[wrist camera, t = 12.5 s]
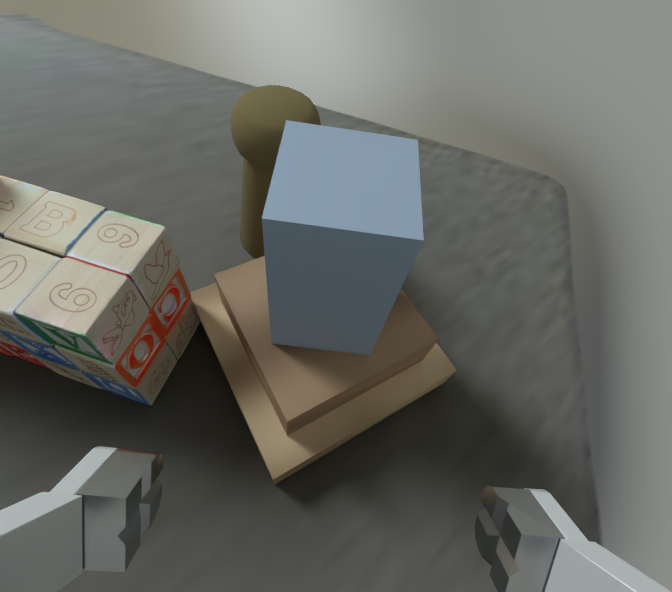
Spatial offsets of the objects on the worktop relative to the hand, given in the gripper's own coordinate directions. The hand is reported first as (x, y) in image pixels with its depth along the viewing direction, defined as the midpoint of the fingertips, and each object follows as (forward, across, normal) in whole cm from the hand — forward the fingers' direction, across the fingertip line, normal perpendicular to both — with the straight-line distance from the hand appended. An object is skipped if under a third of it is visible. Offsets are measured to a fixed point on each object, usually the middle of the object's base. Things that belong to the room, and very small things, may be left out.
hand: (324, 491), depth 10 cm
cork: (+22, -4, +4) cm, 23 cm away
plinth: (+16, 0, -2) cm, 16 cm away
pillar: (+12, 0, +2) cm, 12 cm away
